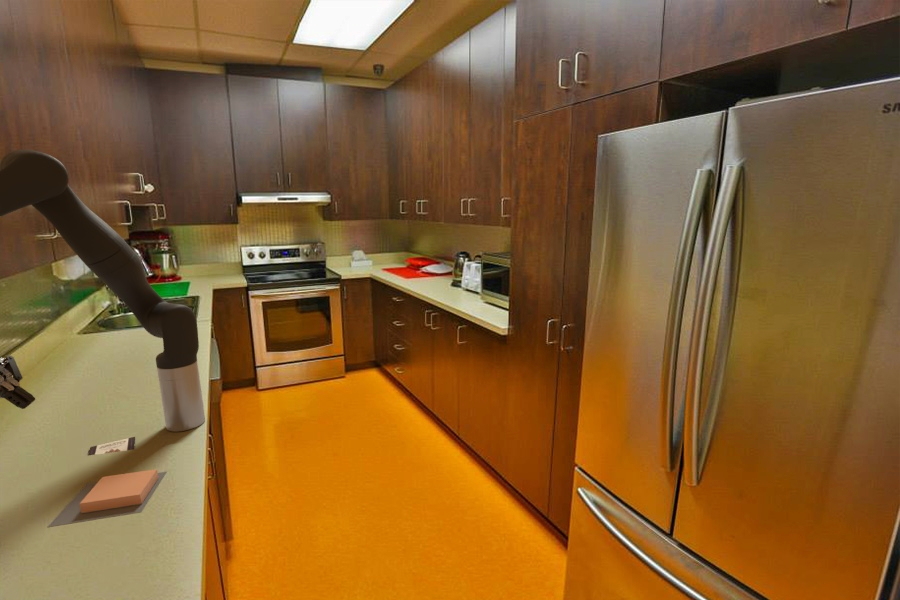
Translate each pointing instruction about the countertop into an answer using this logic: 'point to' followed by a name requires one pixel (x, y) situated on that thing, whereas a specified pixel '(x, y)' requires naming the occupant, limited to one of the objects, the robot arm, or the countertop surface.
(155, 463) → the countertop surface
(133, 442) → the chocolate bar
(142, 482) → the tile
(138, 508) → the mat
